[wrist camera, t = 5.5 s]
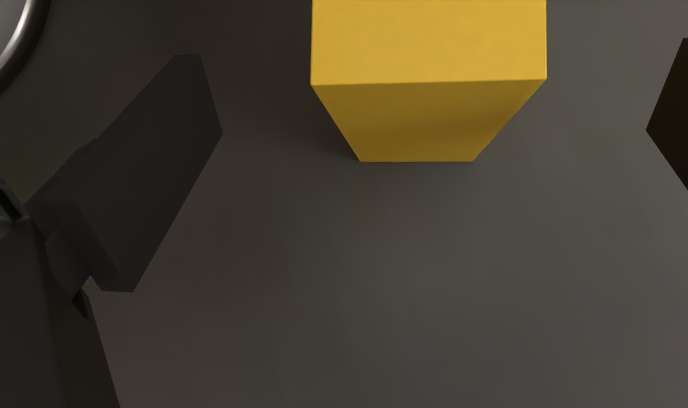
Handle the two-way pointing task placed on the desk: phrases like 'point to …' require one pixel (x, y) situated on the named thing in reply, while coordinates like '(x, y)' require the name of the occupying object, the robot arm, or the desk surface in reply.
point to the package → (425, 72)
